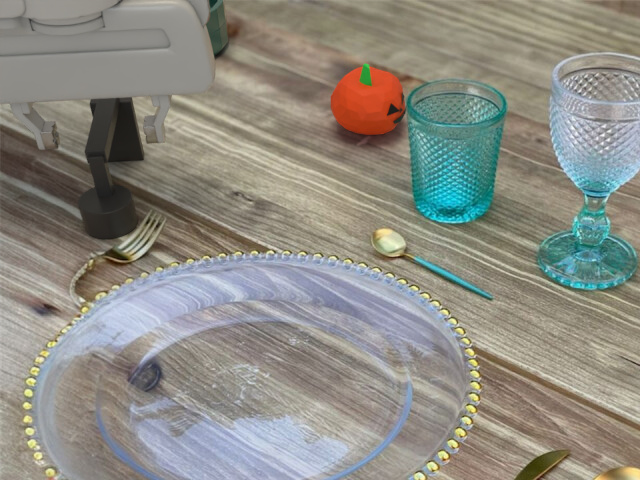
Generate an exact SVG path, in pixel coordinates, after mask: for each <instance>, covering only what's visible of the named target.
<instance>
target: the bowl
mask: <svg viewBox="0 0 640 480" xmlns="http://www.w3.org/2000/svg"><path fill="white" fill-rule="evenodd" d="M209 5H210V18H209V20H208V22H207V24H206V27H207V30H208V34H209V37H210V41H211V45H212V49H213V54H214V57H216V56H217V55H218V54H220V52H221V51H222V50H223V49H224V47H226V46H227V44H228V42H229V38H230V32H229V25H228V19H227V10H226V4H225V0H209Z"/></svg>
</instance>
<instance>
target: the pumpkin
mask: <svg viewBox="0 0 640 480" xmlns="http://www.w3.org/2000/svg"><path fill="white" fill-rule="evenodd" d="M330 109H331V113H332V115H333V117H334V119H335V120H336V122H337V123H338V124H339V125H340V126H341V127H342V128H344V129H345V130H347V131H349V132H352V133H355V134H357V135H358V134H359V135H365V136H375V135H377V136H378V135H384V134H387V133H389V132H391V131H393V130H395V128H396V127H397V125H398V124H400V122H401V121H402V119H403V118H404V117H405V115H406V114H407V113H406V112H407V107H406V102H405V94H404V90H403V85H402V83H401V82H400V80H399V78H398V77H397V76H396V75H394V74H392V73H391V72H390V71H386V70H383V69H379V68H376V67H373V66H370V64H368V63H366V62H365V63H363V65H362V66H360V67H359V66H358V67H356V68H354V69H352V70H351V71H349V72H348V73H346V74H345V75H343V77H342V78H341V79H340V80H339V81H338V83H337V84H336V86H335V88H334V89H333V91H332V93H331V95H330Z"/></svg>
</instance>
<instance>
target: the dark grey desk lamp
mask: <svg viewBox="0 0 640 480" xmlns="http://www.w3.org/2000/svg"><path fill="white" fill-rule="evenodd" d="M89 108H90V112H91V116H92V120H91V125H90V128H89V133H88V136H87V140H86V143H85V147H84V154H85V155H84V156H85V158H86V163H87V165H88V166H89V169H90V173H91V177H92V180H93V184H94V187H91V188H89V189H87V190H85V191H83V192H82V193H81V195H80V196H79V198H78V200H77V206H78V209H79V213H80V216H81V219H82V223H83V227H84V229H85V232H86V233H87V234H88V235H90V236H91V237H94V238H97V239H102V240H103V239H104V240H107V239H108V240H109V239H116V238H120V237H123V236H125V235H128V234H129V233H131V232H132V231H134V229H135V228H136V227H137V225H138V222H139V219H138V218H139V217H138V214H137V209H136V206H135V201H134V198H133V197H134V196H133V193H132V191H131V190H130V189H129V188H128V187H125V186H123V185H120V184H113V179H112V176H111V172H110V168H109V163H110V162H124V161H143V160H144V158H145V150H144V147H143V146H144V145H143V141H142V137H141V132H140V127H139V124H138V119H137V113H136V109H135V106H134V101H133V97H126V98H107V99H89ZM108 162H109V163H108Z"/></svg>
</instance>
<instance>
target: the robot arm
mask: <svg viewBox="0 0 640 480" xmlns="http://www.w3.org/2000/svg"><path fill="white" fill-rule="evenodd" d="M209 18H210V5H209V0H0V105H9V106H10V110H11V112H12V115H13V116H14V117H15V118H16V119H17V121H19V122H20V123H21V124H22V125H23V126H25V127H26V128H27V129H28V130H29V131H30V132H31V133H33V135H34V138H35V142H36V145H37V148H38V150H39V151H46V150H47V151H48V150H58V149H59V145H60V143H61V138H60V134H59V132H58V131H57V130H58V126H57V123H56V120H45V119H44V118H43V117H42V116H41V114H40V113H38V111H37V110H36V109H35V108H34V107H33V106H34V104H35V103H47V102H66V101H67V102H68V101H85V100H86V101H87V100H91V99H107V98H126V97H132V98H141V97H142V98H143V97H150V100H151V104H152V107H154V108H156V110H155V112H154V115H144V119H143V123H142V124H143V125H142V128H143V133H144V135H145V142H146V144H147V145H148V144H149V145H150V144H151V145H152V144H165V143H166V138H167V134H166V127H165V120H166V118H167V116H168V113H169V112H170V108H171V106H172V105H171V104H172V98H173V96H181V95H198V94H199V95H200V94H205V93H208V91H209V90H210V88H211V87H212V86H213V84H214V83H215V80H216V72H217V71H216V70H217V69H216V59H215V56H214V54H213V49H212V45H211V41H210V37H209V34H208V30H207V27H206V24H207V22H208V20H209Z"/></svg>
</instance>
